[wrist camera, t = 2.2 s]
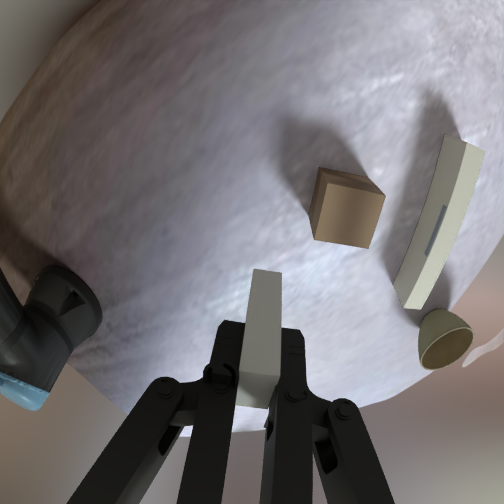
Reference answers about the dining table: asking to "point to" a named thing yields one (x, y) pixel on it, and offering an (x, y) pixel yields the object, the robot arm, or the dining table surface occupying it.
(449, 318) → the flower pot
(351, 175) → the block
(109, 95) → the dining table surface
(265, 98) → the dining table surface
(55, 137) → the dining table surface
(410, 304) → the board
